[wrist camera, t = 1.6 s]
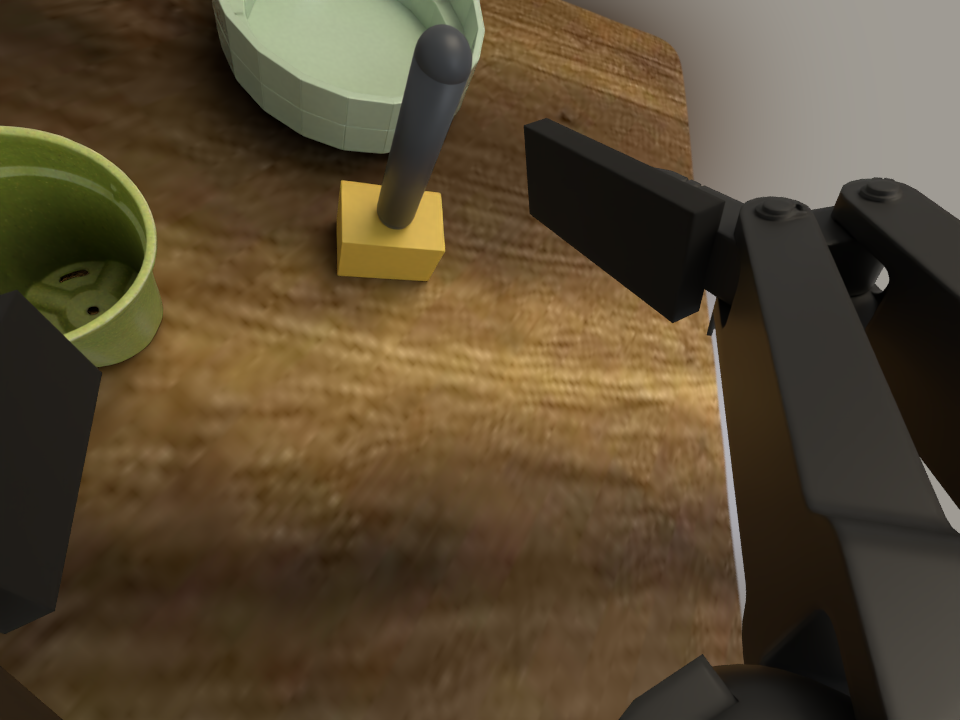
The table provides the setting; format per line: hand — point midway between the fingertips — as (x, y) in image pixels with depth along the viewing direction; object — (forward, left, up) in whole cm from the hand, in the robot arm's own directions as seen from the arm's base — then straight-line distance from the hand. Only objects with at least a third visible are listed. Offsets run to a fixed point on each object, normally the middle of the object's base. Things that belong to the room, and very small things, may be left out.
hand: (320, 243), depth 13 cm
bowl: (-17, +18, -17) cm, 30 cm away
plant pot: (-10, -6, -17) cm, 21 cm away
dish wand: (-4, +9, -17) cm, 20 cm away
